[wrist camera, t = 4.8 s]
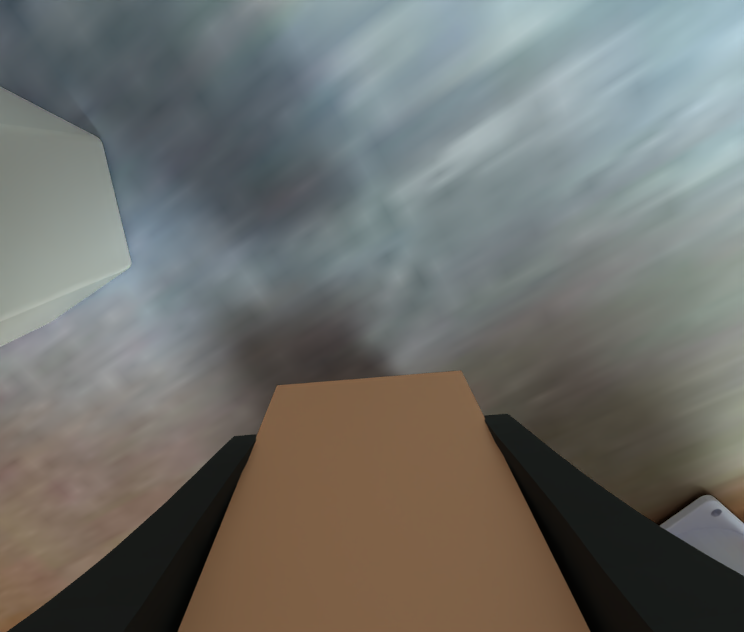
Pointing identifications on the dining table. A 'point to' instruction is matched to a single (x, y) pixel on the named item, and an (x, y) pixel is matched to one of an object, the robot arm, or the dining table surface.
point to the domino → (379, 521)
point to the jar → (52, 217)
